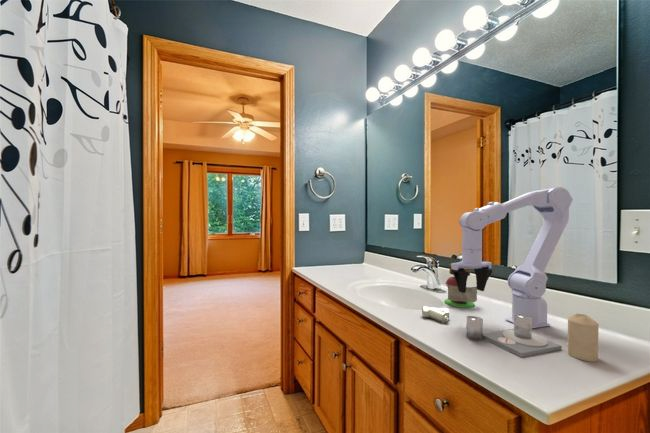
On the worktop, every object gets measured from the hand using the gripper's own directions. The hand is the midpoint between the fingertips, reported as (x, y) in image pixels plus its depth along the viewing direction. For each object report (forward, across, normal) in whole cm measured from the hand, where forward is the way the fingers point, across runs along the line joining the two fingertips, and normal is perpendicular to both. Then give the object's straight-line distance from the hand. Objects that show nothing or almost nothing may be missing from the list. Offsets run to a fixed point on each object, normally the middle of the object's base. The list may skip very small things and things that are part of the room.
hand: (471, 291), depth 91 cm
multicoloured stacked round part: (+10, -11, -17) cm, 23 cm away
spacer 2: (+8, -2, +16) cm, 18 cm away
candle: (+10, -8, +26) cm, 29 cm away
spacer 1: (+10, +9, +10) cm, 17 cm away
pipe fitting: (+10, +9, -5) cm, 15 cm away
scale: (+10, 0, +16) cm, 19 cm away
